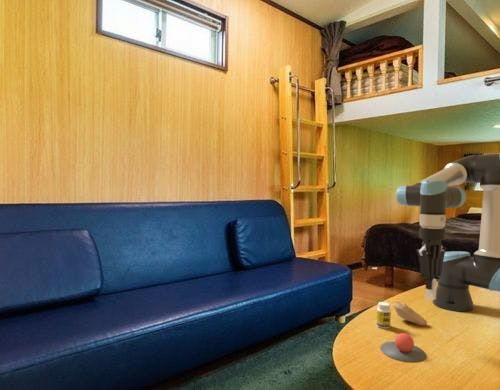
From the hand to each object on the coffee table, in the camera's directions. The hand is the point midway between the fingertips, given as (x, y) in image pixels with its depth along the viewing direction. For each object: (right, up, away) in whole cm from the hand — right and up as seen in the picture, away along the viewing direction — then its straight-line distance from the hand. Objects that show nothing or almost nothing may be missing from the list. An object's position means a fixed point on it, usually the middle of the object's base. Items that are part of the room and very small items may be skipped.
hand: (430, 298), depth 116 cm
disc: (-12, -15, -7) cm, 20 cm away
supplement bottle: (-11, -14, +13) cm, 22 cm away
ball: (-12, -12, -7) cm, 18 cm away
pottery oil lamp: (0, -14, +17) cm, 22 cm away
